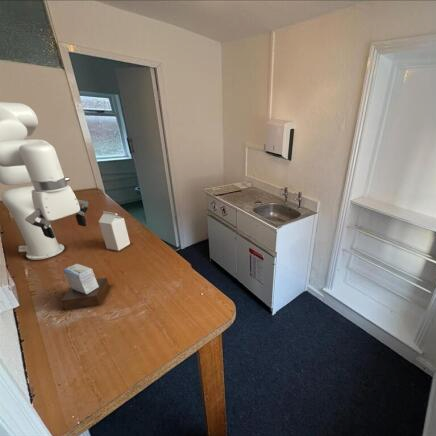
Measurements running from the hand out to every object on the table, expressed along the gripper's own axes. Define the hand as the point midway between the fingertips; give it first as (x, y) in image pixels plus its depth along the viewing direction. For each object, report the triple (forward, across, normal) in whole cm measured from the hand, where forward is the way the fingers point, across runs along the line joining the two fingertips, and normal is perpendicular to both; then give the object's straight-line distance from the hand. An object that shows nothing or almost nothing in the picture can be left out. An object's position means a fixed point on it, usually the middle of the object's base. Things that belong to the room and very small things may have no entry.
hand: (67, 231), depth 81 cm
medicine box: (+21, +4, +6) cm, 22 cm away
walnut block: (+25, +4, +6) cm, 26 cm away
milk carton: (+26, -26, -16) cm, 40 cm away
